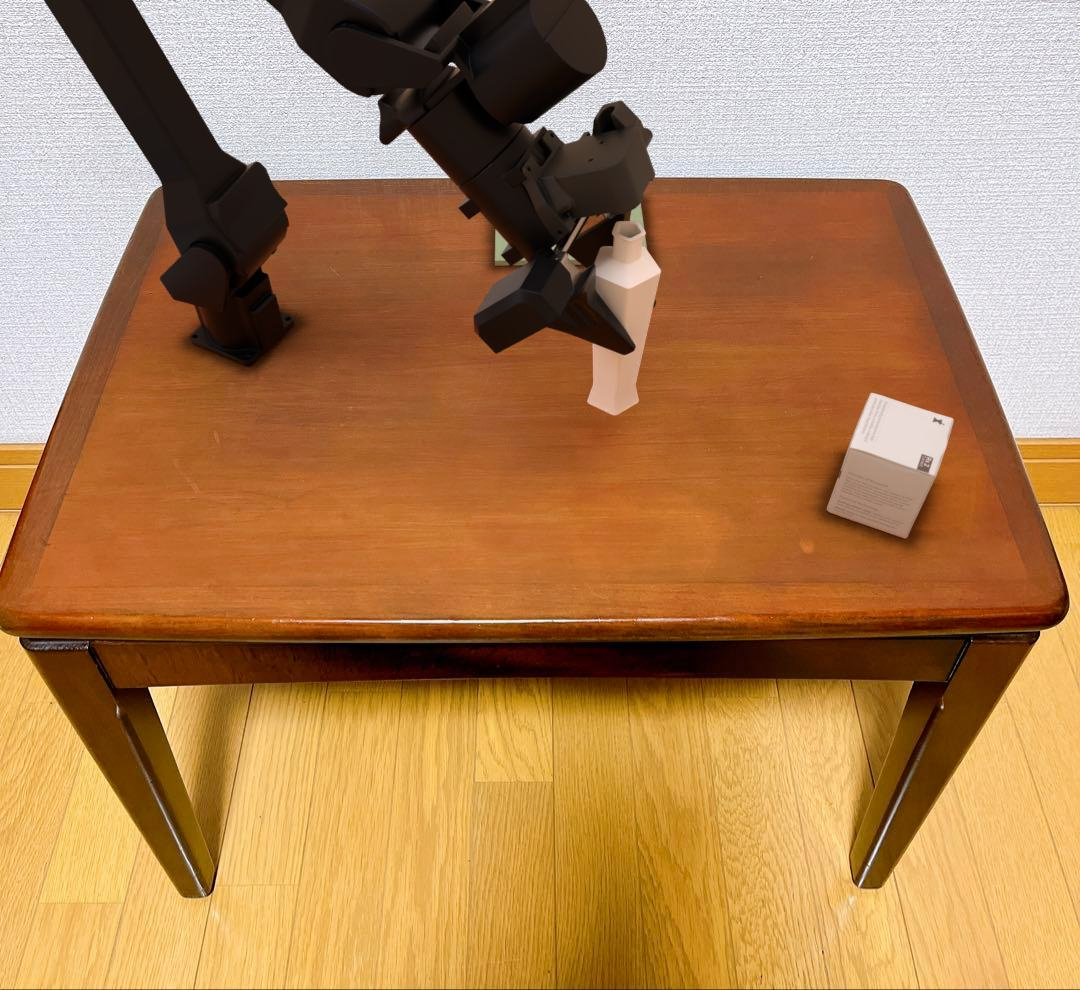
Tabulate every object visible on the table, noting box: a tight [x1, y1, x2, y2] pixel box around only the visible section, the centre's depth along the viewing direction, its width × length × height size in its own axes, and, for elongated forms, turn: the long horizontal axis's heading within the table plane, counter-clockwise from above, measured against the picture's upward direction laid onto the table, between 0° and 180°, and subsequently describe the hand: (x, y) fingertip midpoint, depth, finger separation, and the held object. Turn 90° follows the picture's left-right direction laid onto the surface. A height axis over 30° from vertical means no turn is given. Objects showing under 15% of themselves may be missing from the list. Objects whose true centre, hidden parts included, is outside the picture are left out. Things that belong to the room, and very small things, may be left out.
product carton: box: [826, 392, 955, 539], centre depth 72 cm, size 6×6×7 cm
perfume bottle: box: [587, 221, 662, 416], centre depth 70 cm, size 5×4×15 cm
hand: (640, 329), depth 70 cm, fingers closed on perfume bottle, 4 cm apart
